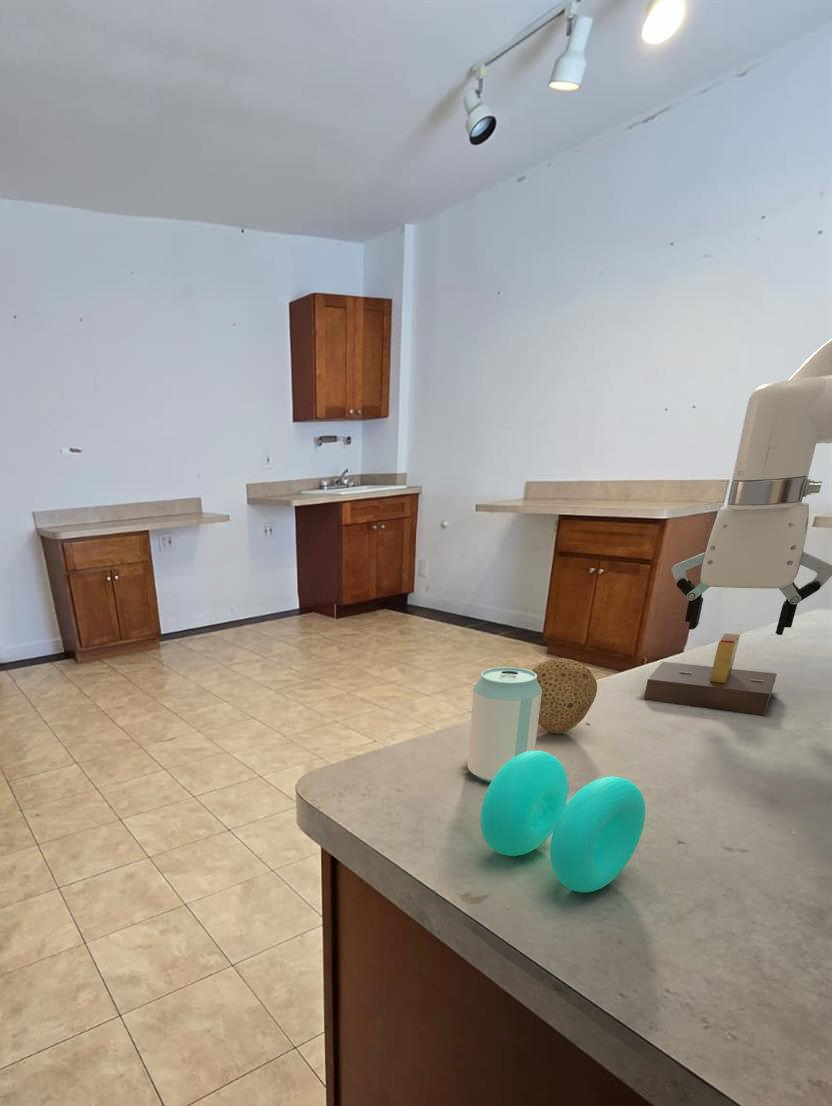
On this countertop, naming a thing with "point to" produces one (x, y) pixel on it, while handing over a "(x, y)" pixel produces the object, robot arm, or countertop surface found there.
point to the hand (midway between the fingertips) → (734, 629)
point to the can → (502, 719)
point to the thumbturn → (724, 657)
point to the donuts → (563, 819)
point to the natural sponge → (564, 693)
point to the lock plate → (710, 688)
